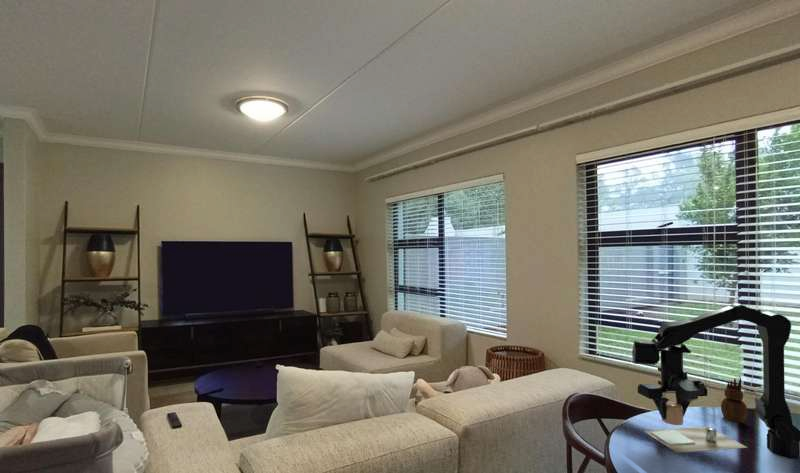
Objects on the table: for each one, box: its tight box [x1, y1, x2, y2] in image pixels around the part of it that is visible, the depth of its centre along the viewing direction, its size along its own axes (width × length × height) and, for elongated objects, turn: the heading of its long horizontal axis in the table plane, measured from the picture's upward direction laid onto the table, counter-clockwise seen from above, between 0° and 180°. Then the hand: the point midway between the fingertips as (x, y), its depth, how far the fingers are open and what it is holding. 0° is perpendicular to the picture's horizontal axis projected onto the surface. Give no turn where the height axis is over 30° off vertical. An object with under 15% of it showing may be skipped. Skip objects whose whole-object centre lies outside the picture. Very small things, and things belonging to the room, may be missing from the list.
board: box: [643, 426, 748, 454], centre depth 131 cm, size 14×22×1 cm, turn 97°
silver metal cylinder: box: [705, 426, 717, 443], centre depth 130 cm, size 3×3×4 cm
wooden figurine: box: [720, 377, 748, 424], centre depth 145 cm, size 7×6×15 cm
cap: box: [661, 401, 684, 426], centre depth 132 cm, size 5×5×5 cm
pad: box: [651, 430, 695, 446], centre depth 132 cm, size 8×8×1 cm
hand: (672, 418), depth 132 cm, fingers closed on cap, 5 cm apart
